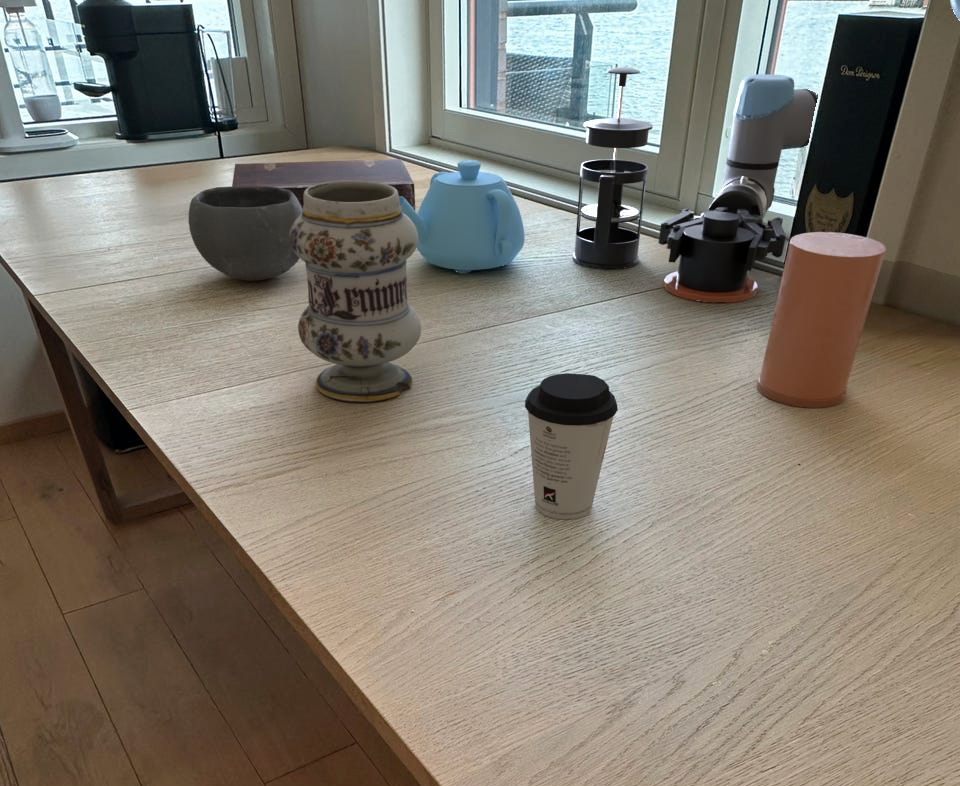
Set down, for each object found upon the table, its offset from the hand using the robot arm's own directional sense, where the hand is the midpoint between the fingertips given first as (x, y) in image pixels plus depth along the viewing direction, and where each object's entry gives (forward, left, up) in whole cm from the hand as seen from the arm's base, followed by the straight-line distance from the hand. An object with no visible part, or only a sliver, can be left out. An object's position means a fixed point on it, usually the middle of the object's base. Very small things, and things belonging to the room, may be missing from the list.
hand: (711, 255), depth 106 cm
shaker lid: (0, -5, -5) cm, 6 cm away
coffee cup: (+2, +56, -6) cm, 57 cm away
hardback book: (+69, -26, -6) cm, 74 cm away
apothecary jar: (+28, +40, -6) cm, 49 cm away
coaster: (0, -5, -5) cm, 7 cm away
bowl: (+58, +13, -6) cm, 60 cm away
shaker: (-14, +25, -5) cm, 30 cm away
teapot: (+35, -2, -6) cm, 35 cm away
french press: (+16, -12, -6) cm, 21 cm away
